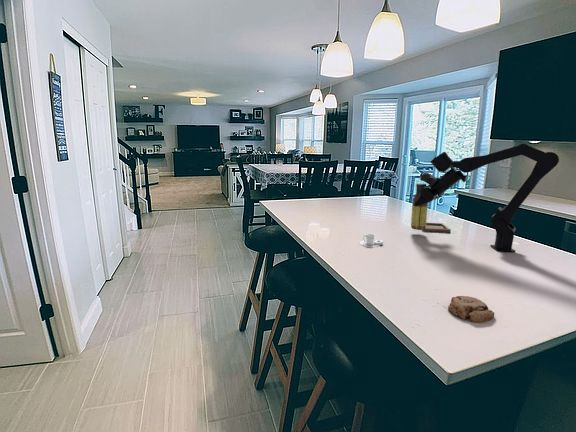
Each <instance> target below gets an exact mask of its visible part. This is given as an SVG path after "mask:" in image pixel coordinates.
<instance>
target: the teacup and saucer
mask: <svg viewBox="0 0 576 432" xmlns="http://www.w3.org/2000/svg"><path fill="white" fill-rule="evenodd" d="M364 237H365V238H364ZM362 239H363V240H362V241H360V242H359V245H361V246H363V247H367V248H376V247H377V248H378V247H380V246H381V245H383V244H384V240H382V239H381V240H380V239H377V240H375V234H372V233H366V234H365V235H363V237H362ZM364 243H366V244H367V245H366V244H364Z"/></svg>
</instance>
